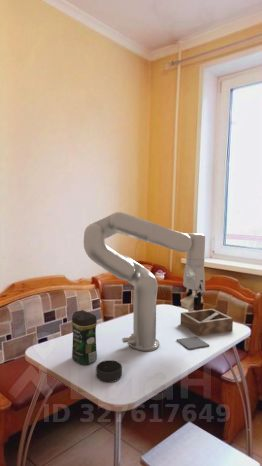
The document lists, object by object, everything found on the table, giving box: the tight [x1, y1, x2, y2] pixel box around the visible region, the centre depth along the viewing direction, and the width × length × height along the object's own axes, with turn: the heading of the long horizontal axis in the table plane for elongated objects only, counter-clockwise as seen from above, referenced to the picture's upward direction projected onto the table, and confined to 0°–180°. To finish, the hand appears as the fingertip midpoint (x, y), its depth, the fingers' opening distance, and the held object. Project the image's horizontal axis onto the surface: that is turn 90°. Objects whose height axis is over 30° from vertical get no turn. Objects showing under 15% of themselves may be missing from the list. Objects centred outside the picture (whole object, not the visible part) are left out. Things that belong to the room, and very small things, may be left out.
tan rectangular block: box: [180, 292, 204, 310], centre depth 140 cm, size 8×5×3 cm, turn 113°
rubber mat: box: [176, 335, 210, 351], centre depth 141 cm, size 10×10×1 cm
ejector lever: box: [199, 312, 219, 322], centre depth 159 cm, size 15×6×1 cm, turn 112°
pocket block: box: [180, 308, 234, 337], centre depth 160 cm, size 19×16×6 cm
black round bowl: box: [95, 359, 123, 383], centre depth 113 cm, size 9×9×4 cm
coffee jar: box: [71, 309, 98, 365], centre depth 124 cm, size 10×8×19 cm
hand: (193, 303), depth 140 cm, fingers closed on tan rectangular block, 4 cm apart
